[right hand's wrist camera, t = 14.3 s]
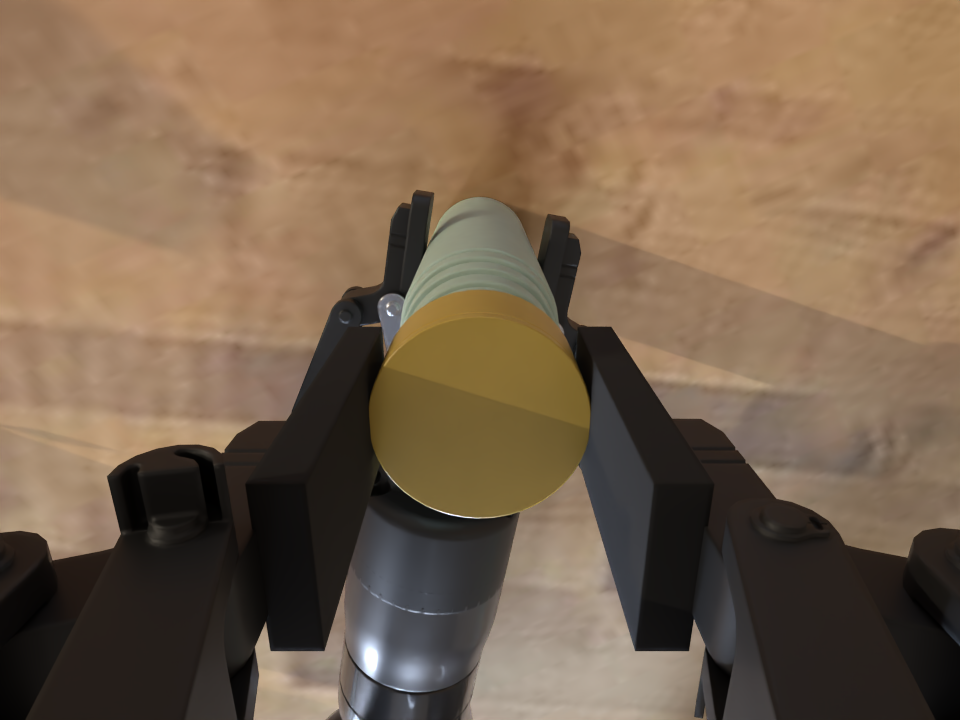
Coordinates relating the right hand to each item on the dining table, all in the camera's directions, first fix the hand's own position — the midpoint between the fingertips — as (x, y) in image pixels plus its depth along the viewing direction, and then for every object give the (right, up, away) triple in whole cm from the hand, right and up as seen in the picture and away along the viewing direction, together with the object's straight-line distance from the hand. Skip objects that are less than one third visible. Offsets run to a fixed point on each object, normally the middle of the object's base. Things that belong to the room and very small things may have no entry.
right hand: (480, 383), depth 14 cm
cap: (0, -1, -2) cm, 2 cm away
